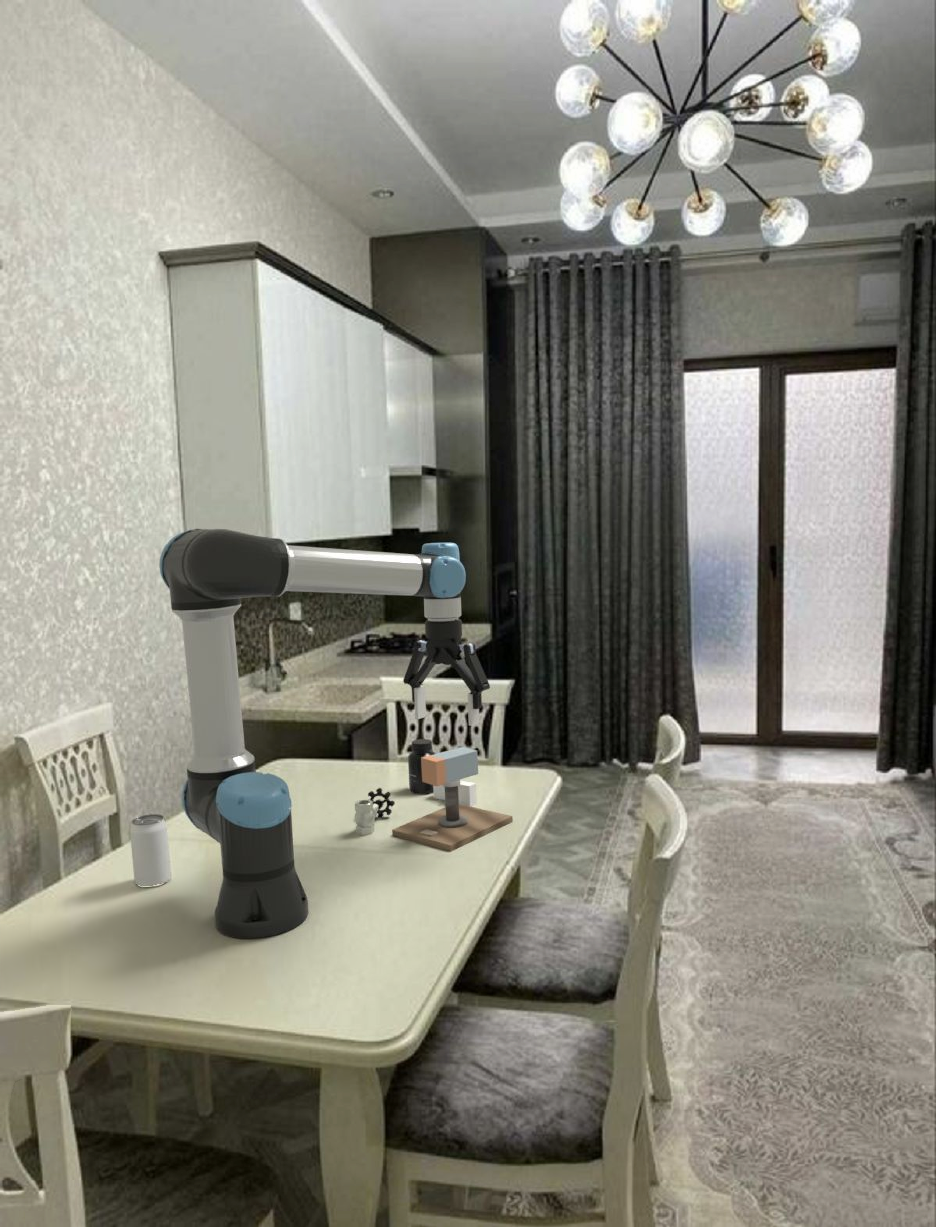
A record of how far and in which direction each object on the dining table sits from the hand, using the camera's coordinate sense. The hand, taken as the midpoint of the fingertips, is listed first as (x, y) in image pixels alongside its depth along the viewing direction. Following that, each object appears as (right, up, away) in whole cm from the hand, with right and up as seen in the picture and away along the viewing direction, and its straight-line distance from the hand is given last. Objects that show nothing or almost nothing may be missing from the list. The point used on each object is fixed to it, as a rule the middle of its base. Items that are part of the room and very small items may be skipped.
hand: (446, 721), depth 188 cm
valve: (-16, -23, +7) cm, 29 cm away
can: (-54, -28, -18) cm, 64 cm away
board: (+1, -23, +3) cm, 23 cm away
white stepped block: (+1, -21, +22) cm, 30 cm away
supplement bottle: (-6, -20, +30) cm, 36 cm away
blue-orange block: (+1, -13, +2) cm, 13 cm away
